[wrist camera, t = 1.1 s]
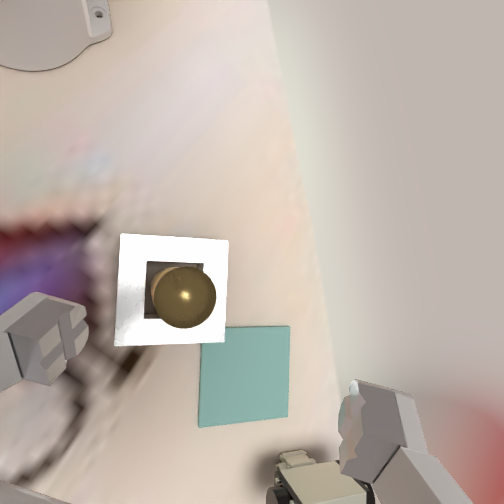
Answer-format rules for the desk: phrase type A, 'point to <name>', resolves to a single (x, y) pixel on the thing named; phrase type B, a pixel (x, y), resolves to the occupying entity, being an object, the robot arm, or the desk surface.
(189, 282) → the brass cylinder
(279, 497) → the pneumatic valve
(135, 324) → the housing
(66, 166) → the desk surface
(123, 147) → the desk surface
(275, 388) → the pad
